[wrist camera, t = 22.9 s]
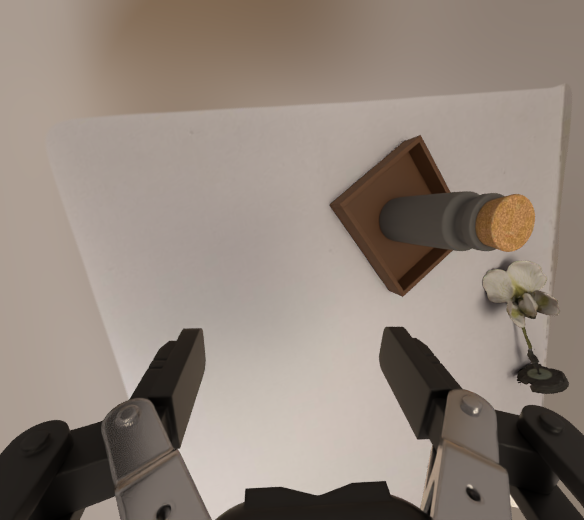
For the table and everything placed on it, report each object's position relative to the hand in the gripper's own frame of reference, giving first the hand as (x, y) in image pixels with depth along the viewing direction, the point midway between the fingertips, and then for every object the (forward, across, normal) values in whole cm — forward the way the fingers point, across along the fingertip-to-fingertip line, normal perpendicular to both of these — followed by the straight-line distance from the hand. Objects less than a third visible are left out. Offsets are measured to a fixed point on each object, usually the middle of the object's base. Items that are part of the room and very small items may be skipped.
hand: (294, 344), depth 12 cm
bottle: (+25, -16, 0) cm, 30 cm away
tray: (+26, -16, 0) cm, 30 cm away
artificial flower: (+27, -39, +17) cm, 50 cm away
